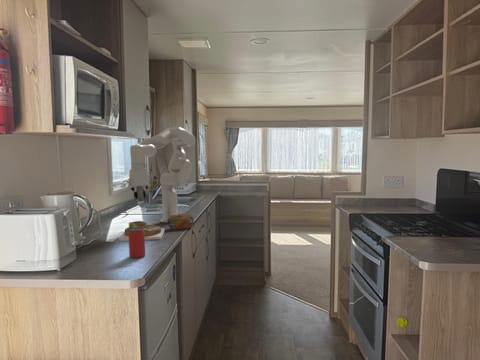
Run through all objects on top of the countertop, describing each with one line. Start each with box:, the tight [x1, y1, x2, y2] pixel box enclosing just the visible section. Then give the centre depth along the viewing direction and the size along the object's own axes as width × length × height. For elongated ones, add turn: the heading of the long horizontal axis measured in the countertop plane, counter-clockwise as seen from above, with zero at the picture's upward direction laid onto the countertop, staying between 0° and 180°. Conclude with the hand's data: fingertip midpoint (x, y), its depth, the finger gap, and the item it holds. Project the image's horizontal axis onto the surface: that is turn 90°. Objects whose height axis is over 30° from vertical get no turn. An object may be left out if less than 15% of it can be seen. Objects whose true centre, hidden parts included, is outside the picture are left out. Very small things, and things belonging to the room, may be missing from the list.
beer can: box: [128, 228, 146, 259], centre depth 153 cm, size 7×7×12 cm
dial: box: [124, 220, 162, 236], centre depth 192 cm, size 19×19×4 cm
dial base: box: [118, 227, 166, 242], centre depth 192 cm, size 21×21×2 cm
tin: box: [167, 213, 194, 230], centre depth 209 cm, size 15×3×8 cm, turn 105°
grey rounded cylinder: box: [136, 186, 145, 206], centre depth 205 cm, size 4×4×10 cm
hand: (139, 197), depth 206 cm, fingers closed on grey rounded cylinder, 3 cm apart
